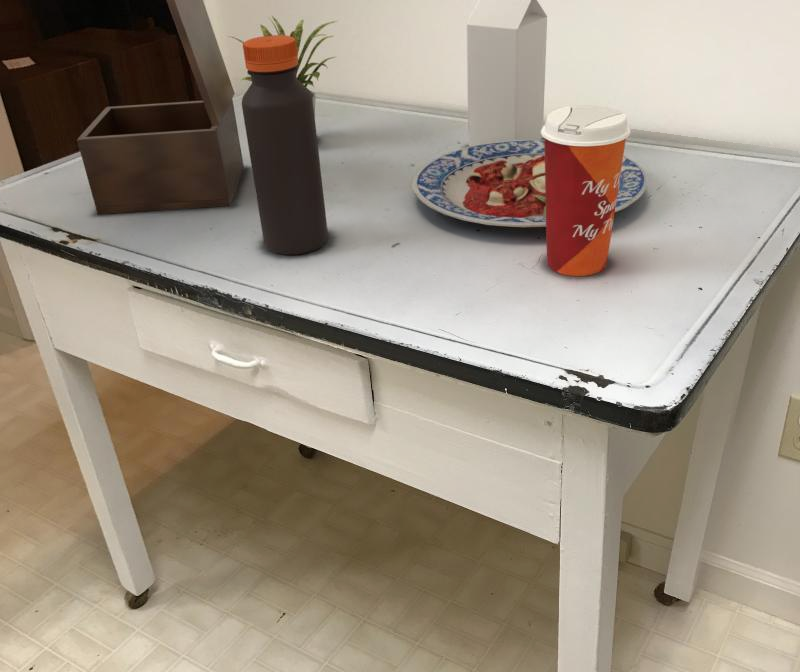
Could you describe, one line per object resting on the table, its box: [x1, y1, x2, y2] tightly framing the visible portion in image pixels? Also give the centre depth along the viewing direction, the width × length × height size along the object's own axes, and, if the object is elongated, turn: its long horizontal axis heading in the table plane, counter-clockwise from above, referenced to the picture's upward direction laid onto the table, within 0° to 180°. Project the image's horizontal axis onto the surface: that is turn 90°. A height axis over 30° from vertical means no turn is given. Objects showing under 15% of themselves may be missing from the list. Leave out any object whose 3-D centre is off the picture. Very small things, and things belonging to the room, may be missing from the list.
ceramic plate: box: [412, 139, 648, 228], centre depth 96 cm, size 26×26×3 cm
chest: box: [76, 98, 245, 215], centre depth 102 cm, size 16×13×9 cm
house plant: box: [227, 15, 338, 117], centre depth 112 cm, size 14×14×16 cm
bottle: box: [241, 34, 329, 256], centre depth 84 cm, size 7×7×20 cm
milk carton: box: [466, 0, 548, 147], centre depth 106 cm, size 7×7×19 cm
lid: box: [166, 0, 236, 127], centre depth 94 cm, size 16×13×5 cm
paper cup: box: [541, 104, 631, 277], centre depth 78 cm, size 8×8×14 cm
